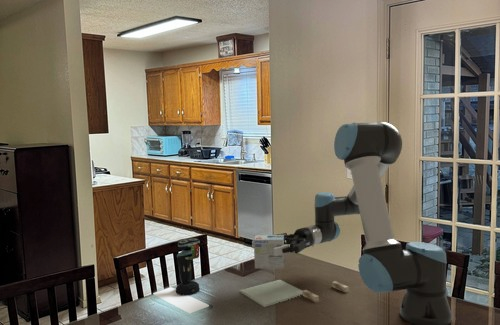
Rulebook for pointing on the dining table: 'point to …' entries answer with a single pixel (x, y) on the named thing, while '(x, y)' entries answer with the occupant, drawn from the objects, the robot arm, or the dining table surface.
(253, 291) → the mat
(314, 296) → the beige rectangular blocks
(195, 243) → the cordless drill
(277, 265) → the light bulb box
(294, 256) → the dining table surface
